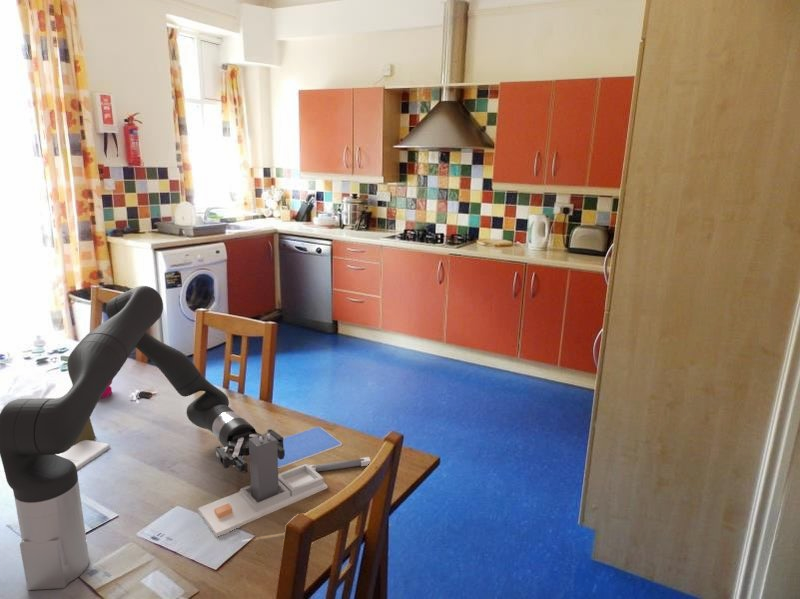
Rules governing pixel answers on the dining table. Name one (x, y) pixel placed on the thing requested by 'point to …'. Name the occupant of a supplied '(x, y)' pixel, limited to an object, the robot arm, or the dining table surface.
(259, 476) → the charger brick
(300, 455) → the tablet computer
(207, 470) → the dining table surface
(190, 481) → the dining table surface
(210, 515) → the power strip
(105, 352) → the robot arm
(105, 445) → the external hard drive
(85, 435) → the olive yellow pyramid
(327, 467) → the grey bar
